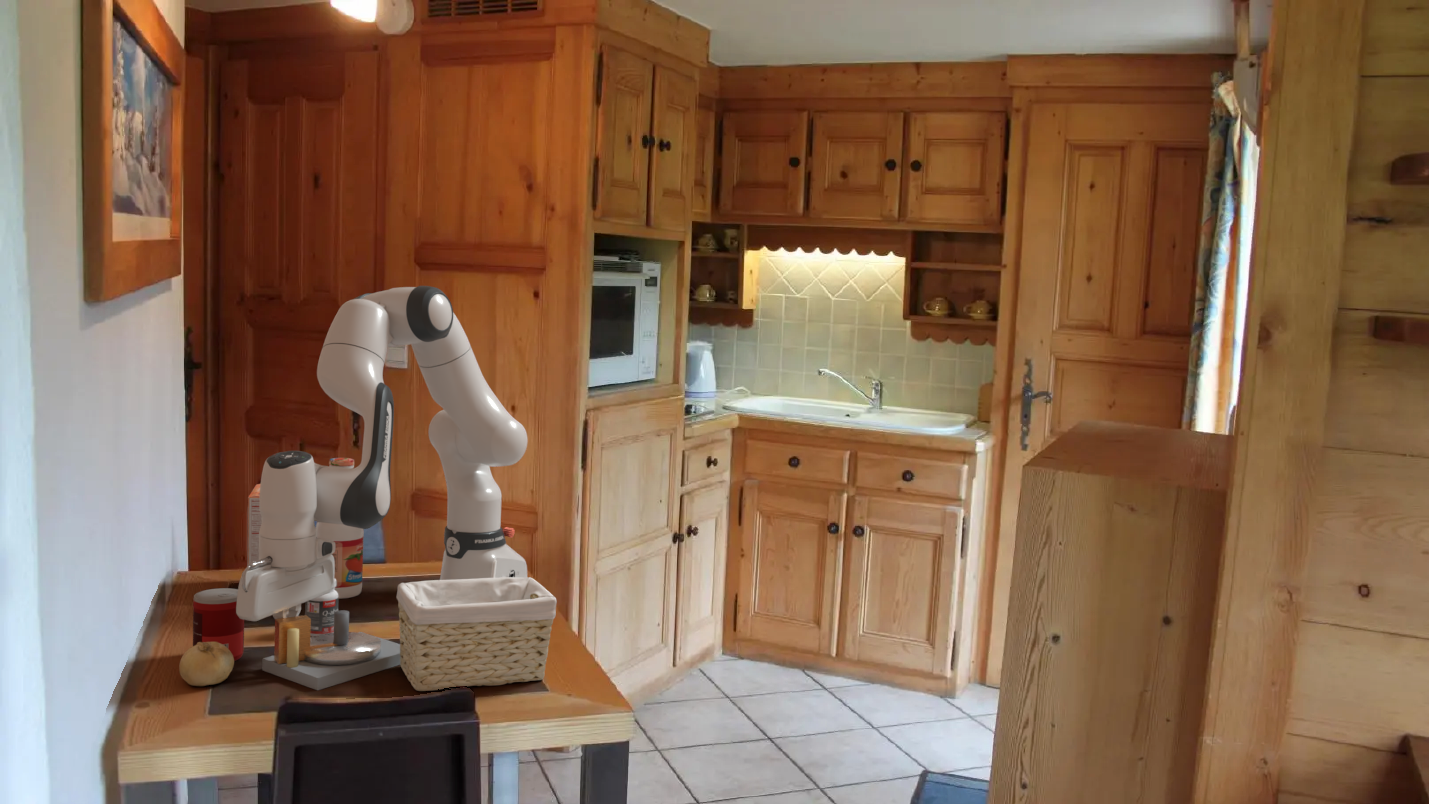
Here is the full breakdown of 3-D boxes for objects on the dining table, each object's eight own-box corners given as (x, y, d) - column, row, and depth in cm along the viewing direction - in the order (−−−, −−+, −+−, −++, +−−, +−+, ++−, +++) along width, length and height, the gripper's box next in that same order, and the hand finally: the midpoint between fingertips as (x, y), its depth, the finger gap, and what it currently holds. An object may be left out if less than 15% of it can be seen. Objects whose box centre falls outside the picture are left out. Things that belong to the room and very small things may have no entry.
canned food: (253, 655, 192) (254, 592, 191) (217, 668, 185) (218, 603, 184) (219, 647, 195) (220, 585, 194) (182, 660, 188) (182, 595, 187)
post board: (360, 642, 202) (361, 593, 201) (414, 660, 194) (416, 608, 194) (262, 670, 185) (263, 616, 184) (317, 690, 178) (319, 634, 177)
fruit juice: (317, 587, 236) (320, 455, 233) (363, 587, 238) (367, 456, 235) (310, 599, 227) (314, 462, 224) (359, 599, 229) (363, 463, 226)
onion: (171, 680, 178) (171, 636, 178) (222, 670, 184) (222, 628, 183) (189, 695, 173) (190, 650, 172) (241, 684, 178) (242, 641, 178)
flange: (264, 650, 188) (265, 610, 188) (364, 636, 199) (365, 598, 198) (288, 673, 178) (289, 631, 177) (392, 657, 188) (393, 618, 188)
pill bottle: (326, 639, 203) (328, 585, 202) (298, 635, 204) (299, 581, 203) (343, 630, 208) (344, 577, 208) (315, 626, 210) (316, 574, 209)
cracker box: (253, 580, 238) (255, 482, 237) (283, 580, 240) (286, 483, 238) (244, 598, 225) (246, 495, 223) (276, 597, 227) (278, 495, 225)
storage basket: (528, 653, 202) (531, 573, 200) (556, 683, 187) (560, 597, 186) (391, 666, 191) (394, 581, 190) (410, 699, 177) (413, 607, 175)
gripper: (259, 567, 174) (258, 654, 176) (341, 540, 194) (340, 618, 195) (226, 562, 176) (225, 647, 178) (311, 536, 196) (309, 613, 197)
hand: (286, 632), depth 187 cm, fingers closed
